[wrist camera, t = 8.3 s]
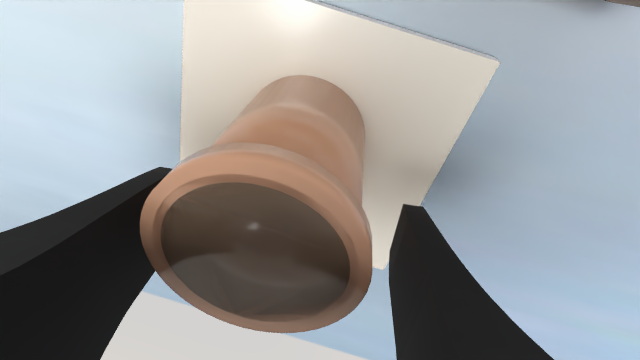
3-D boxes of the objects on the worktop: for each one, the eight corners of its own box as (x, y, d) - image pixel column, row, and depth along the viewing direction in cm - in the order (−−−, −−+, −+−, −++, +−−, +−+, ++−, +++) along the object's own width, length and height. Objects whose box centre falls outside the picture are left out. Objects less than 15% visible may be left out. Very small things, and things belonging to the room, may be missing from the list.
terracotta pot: (385, 76, 12) (395, 183, 6) (361, 200, 15) (353, 348, 9) (234, 57, 12) (112, 142, 7) (241, 182, 16) (162, 314, 10)
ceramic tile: (493, 56, 12) (500, 62, 11) (383, 258, 18) (383, 269, 17) (195, -38, 12) (184, -38, 11) (185, 201, 18) (178, 210, 17)
